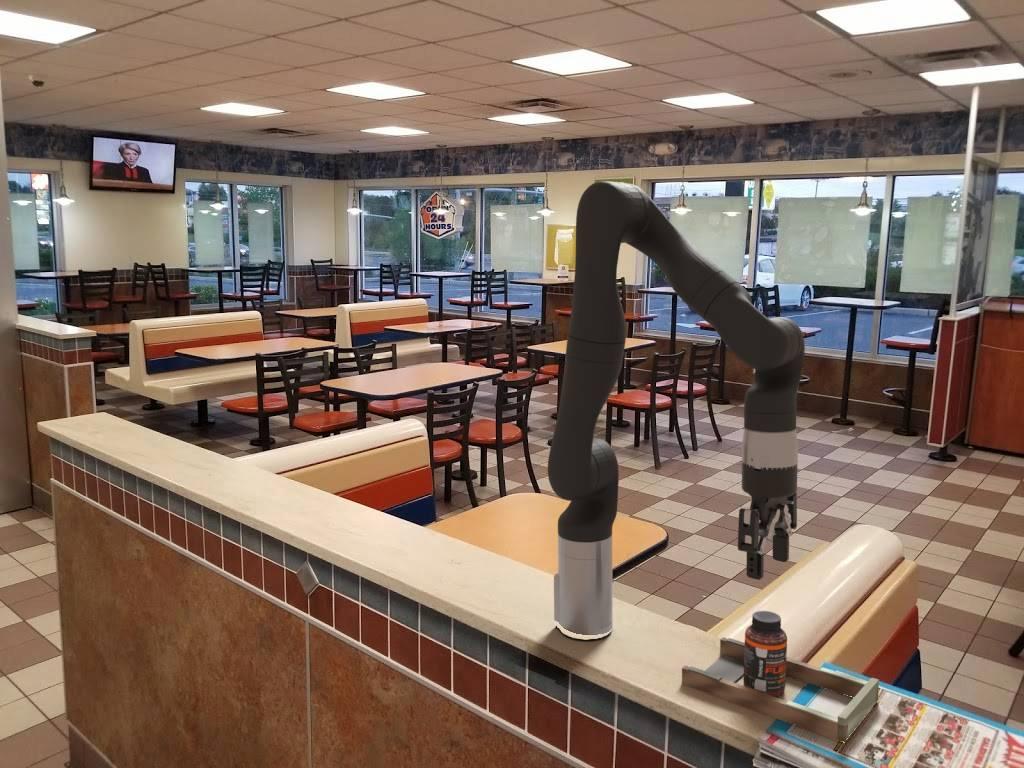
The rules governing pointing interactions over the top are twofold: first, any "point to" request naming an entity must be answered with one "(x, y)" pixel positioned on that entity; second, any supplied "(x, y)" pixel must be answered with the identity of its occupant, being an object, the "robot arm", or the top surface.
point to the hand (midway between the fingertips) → (768, 569)
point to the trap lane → (731, 669)
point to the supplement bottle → (765, 654)
